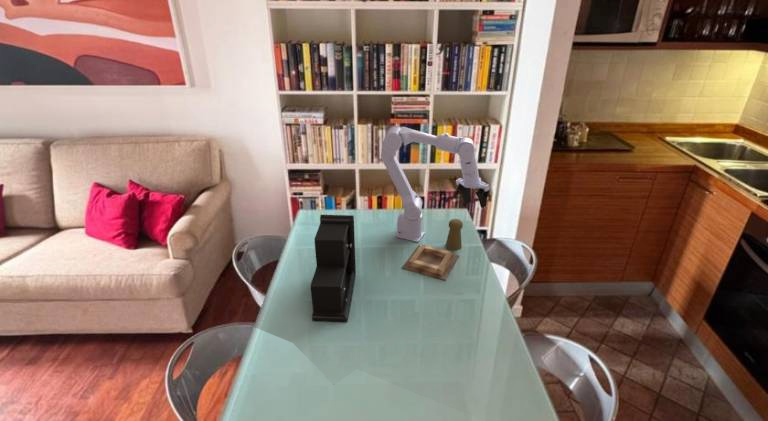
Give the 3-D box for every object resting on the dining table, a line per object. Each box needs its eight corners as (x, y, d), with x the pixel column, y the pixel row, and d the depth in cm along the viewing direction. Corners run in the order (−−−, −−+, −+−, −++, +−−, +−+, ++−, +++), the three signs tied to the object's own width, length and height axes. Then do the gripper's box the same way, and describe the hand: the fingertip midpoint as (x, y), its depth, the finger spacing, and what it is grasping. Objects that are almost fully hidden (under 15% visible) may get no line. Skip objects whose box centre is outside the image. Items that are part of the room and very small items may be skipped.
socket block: (401, 268, 143) (401, 262, 142) (418, 245, 156) (418, 240, 155) (445, 280, 137) (445, 274, 136) (459, 256, 150) (459, 250, 148)
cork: (462, 250, 153) (465, 224, 148) (446, 250, 153) (448, 224, 148) (460, 241, 159) (463, 216, 153) (444, 241, 159) (446, 216, 154)
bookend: (347, 323, 119) (344, 256, 108) (311, 321, 120) (304, 255, 109) (356, 274, 140) (354, 214, 129) (325, 273, 140) (320, 213, 129)
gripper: (493, 169, 143) (498, 203, 148) (462, 164, 154) (468, 196, 160) (479, 177, 139) (485, 212, 145) (449, 171, 151) (456, 204, 156)
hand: (475, 204), depth 152 cm, fingers open, 7 cm apart
